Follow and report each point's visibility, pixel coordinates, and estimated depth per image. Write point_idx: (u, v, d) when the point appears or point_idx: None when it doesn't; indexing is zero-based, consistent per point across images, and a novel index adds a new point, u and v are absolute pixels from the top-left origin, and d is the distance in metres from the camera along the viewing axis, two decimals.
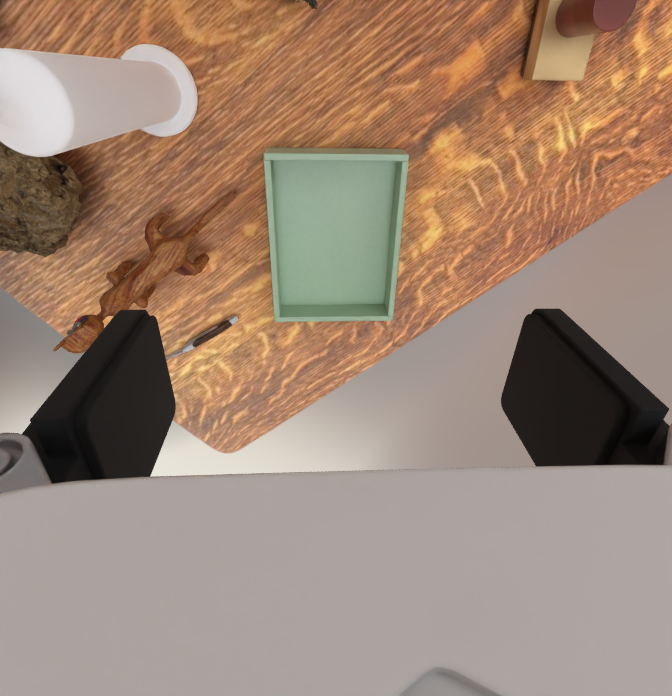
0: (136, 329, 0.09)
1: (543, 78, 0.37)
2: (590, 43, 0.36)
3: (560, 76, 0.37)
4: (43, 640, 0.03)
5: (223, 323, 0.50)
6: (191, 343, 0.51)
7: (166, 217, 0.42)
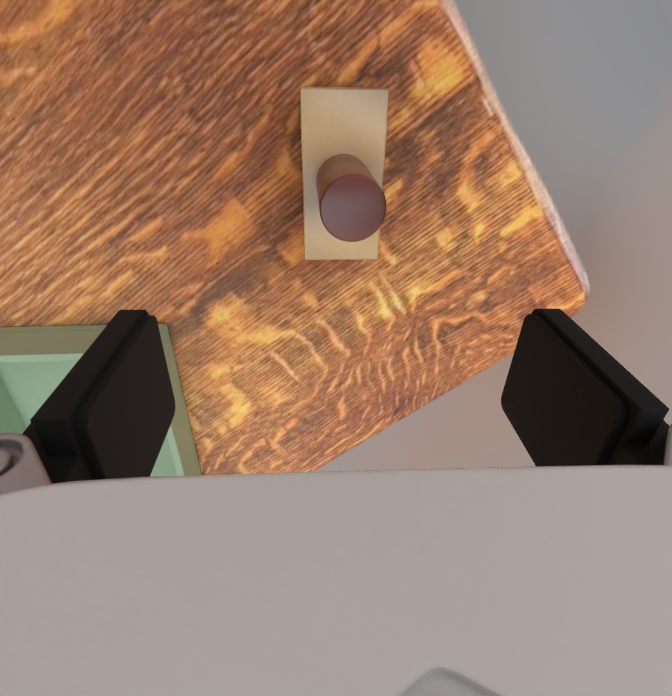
0: (136, 329, 0.09)
1: (320, 258, 0.26)
2: None
3: (344, 255, 0.26)
4: (43, 640, 0.03)
5: None
6: None
7: None
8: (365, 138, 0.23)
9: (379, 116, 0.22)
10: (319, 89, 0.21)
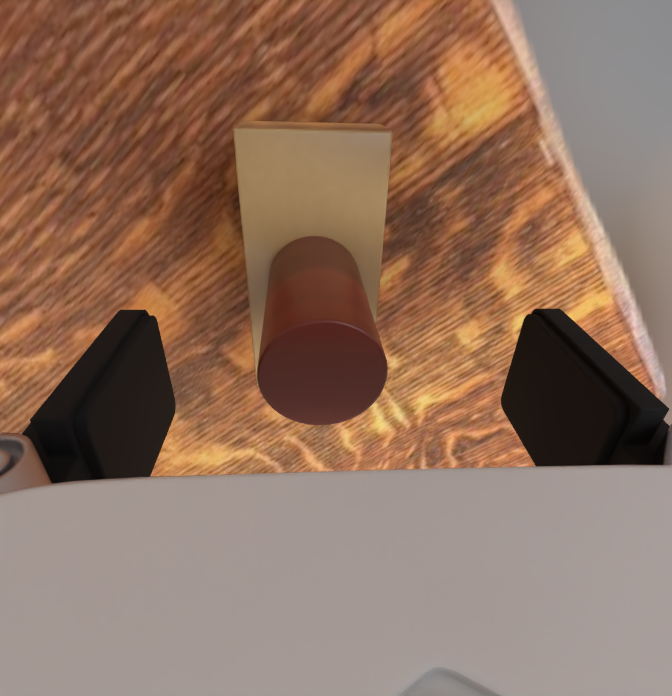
0: (136, 329, 0.09)
1: None
2: None
3: None
4: (43, 640, 0.03)
5: None
6: None
7: None
8: (350, 211, 0.13)
9: (375, 176, 0.13)
10: (268, 131, 0.12)
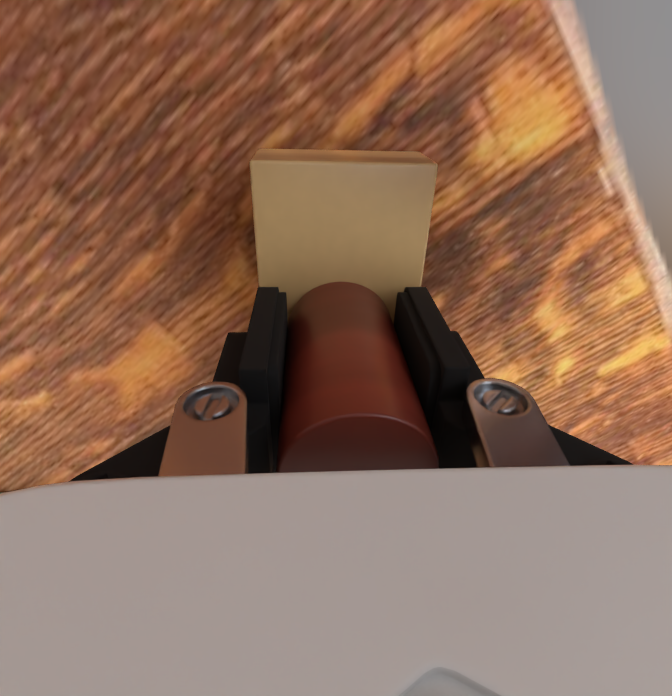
0: (279, 302, 0.10)
1: None
2: None
3: None
4: (44, 640, 0.03)
5: None
6: None
7: None
8: (385, 254, 0.11)
9: (414, 215, 0.11)
10: (290, 164, 0.10)
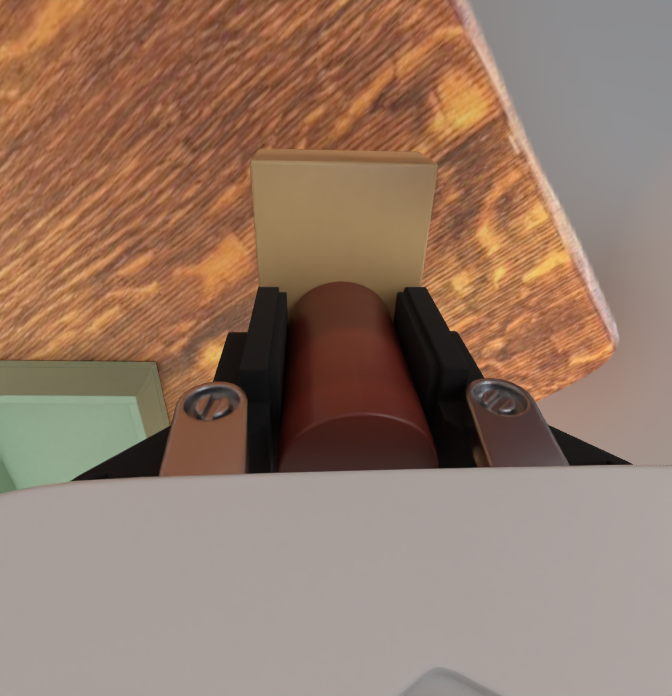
0: (280, 302, 0.10)
1: None
2: None
3: None
4: (43, 640, 0.03)
5: None
6: None
7: None
8: (385, 254, 0.11)
9: (415, 215, 0.11)
10: (291, 164, 0.10)
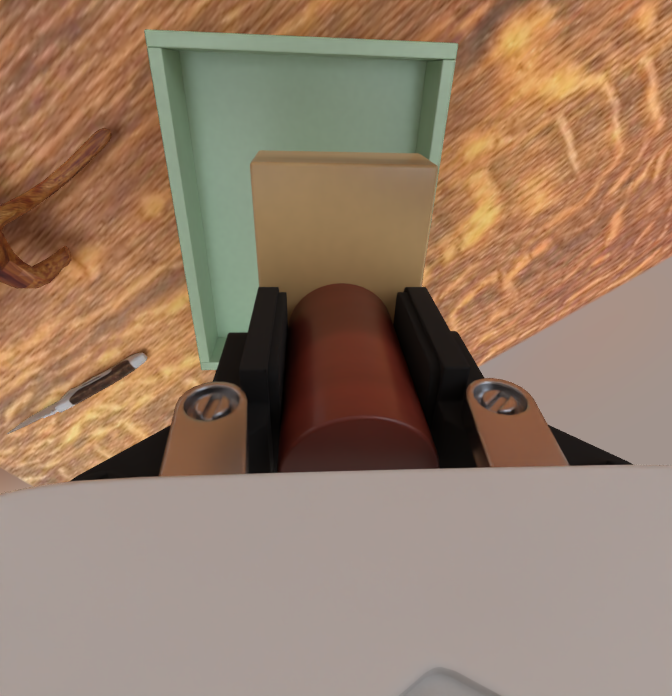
0: (280, 303, 0.10)
1: None
2: None
3: None
4: (44, 640, 0.03)
5: (120, 366, 0.29)
6: (68, 398, 0.30)
7: None
8: (385, 256, 0.11)
9: (415, 217, 0.11)
10: (291, 166, 0.10)
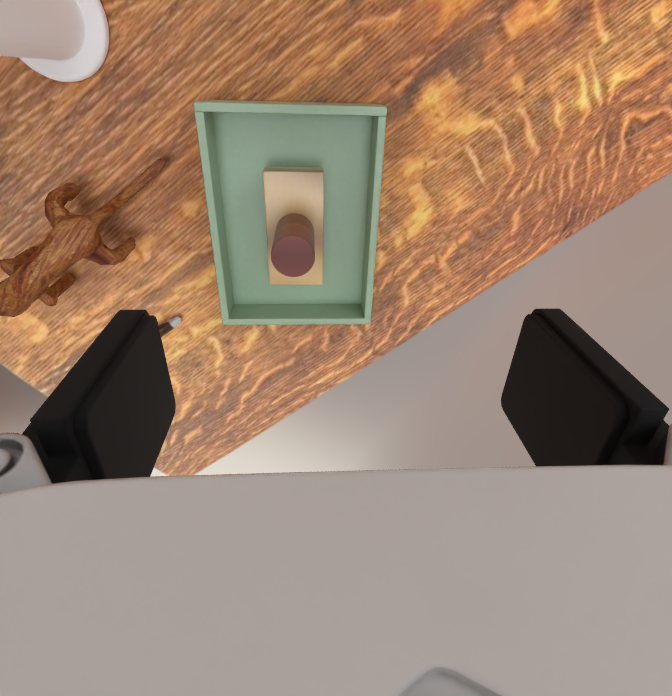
0: (136, 329, 0.09)
1: (281, 283, 0.36)
2: (320, 254, 0.35)
3: (298, 281, 0.36)
4: (43, 640, 0.03)
5: (162, 326, 0.41)
6: None
7: (75, 189, 0.32)
8: (309, 203, 0.33)
9: (318, 189, 0.32)
10: (275, 172, 0.31)
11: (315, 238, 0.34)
